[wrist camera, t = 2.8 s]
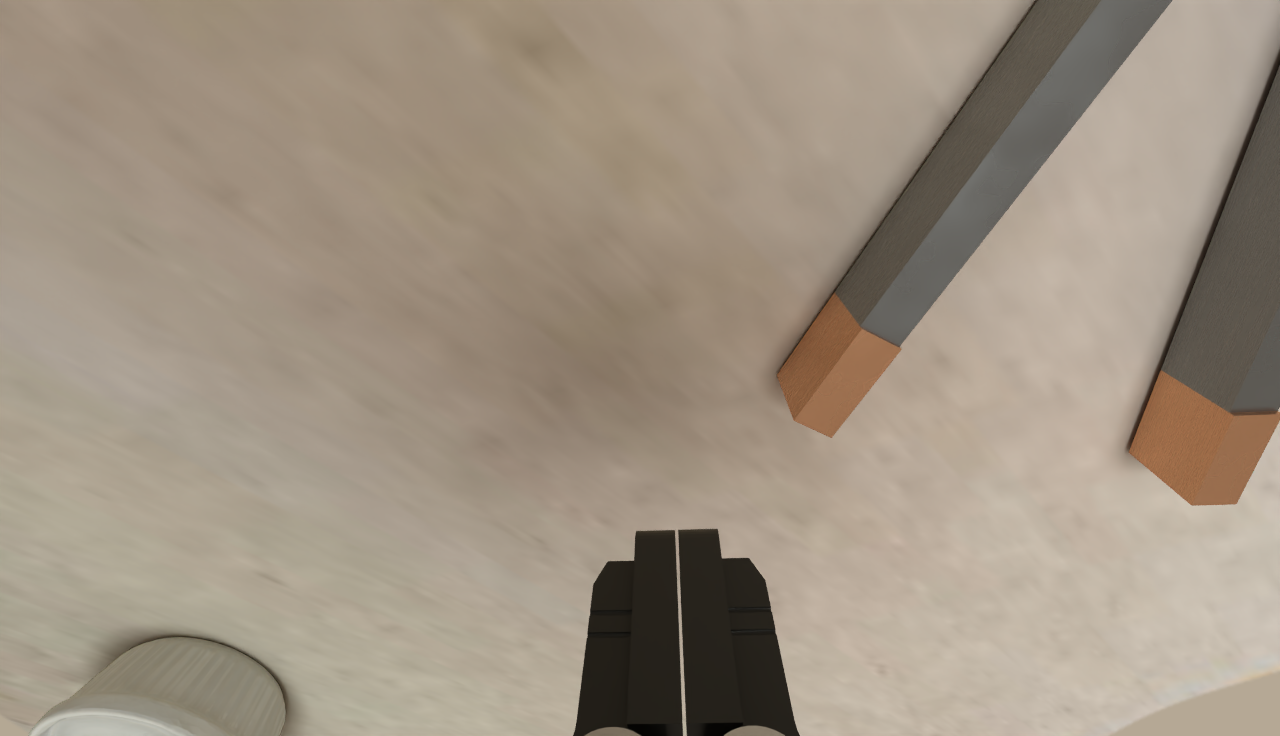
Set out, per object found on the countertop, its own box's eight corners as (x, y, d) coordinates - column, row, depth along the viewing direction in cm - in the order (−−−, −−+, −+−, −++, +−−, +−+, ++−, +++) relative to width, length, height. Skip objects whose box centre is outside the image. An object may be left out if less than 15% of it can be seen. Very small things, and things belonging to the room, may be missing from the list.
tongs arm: (1334, -426, 14) (1520, -558, 11) (1379, -382, 14) (1572, -499, 11) (776, 375, 24) (793, 420, 21) (809, 390, 24) (831, 437, 21)
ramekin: (108, 596, 32) (14, 689, 27) (319, 654, 34) (265, 752, 29) (107, 712, 37) (27, 808, 32) (291, 758, 38) (241, 855, 34)
